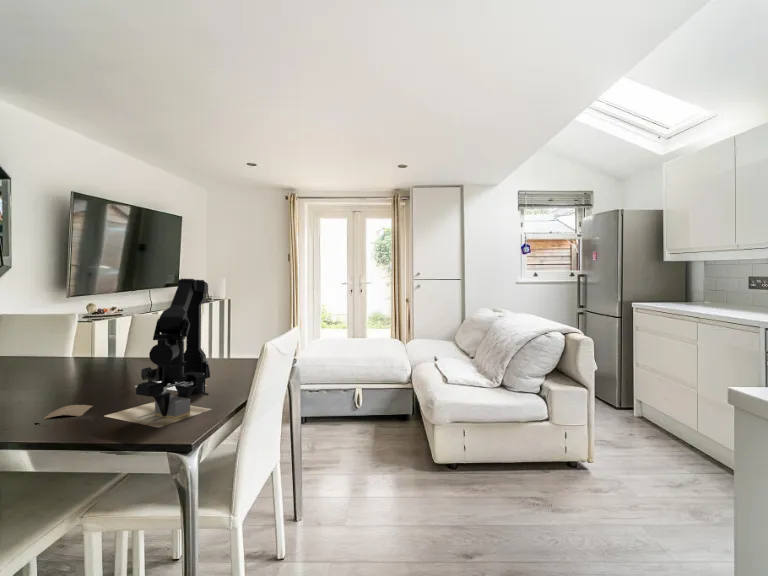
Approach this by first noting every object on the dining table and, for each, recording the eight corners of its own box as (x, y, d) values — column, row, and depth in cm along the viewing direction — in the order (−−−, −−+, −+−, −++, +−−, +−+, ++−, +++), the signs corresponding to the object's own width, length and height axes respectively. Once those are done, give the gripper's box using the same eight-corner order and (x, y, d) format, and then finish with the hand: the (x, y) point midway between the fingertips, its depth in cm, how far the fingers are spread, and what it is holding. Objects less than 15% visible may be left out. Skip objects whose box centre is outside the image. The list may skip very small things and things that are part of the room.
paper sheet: (210, 389, 158) (210, 386, 158) (121, 407, 136) (121, 404, 136) (184, 378, 174) (184, 375, 174) (101, 393, 153) (101, 390, 153)
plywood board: (159, 404, 136) (159, 400, 136) (211, 413, 127) (212, 409, 127) (103, 420, 120) (103, 415, 120) (158, 432, 111) (158, 427, 111)
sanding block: (170, 410, 125) (170, 395, 125) (190, 414, 122) (190, 398, 122) (154, 415, 121) (155, 399, 121) (175, 419, 118) (175, 402, 117)
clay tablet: (102, 411, 130) (102, 402, 130) (92, 421, 120) (92, 411, 120) (45, 416, 125) (44, 406, 125) (30, 427, 115) (30, 417, 115)
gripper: (179, 351, 133) (179, 401, 133) (122, 361, 116) (121, 419, 116) (206, 354, 129) (206, 406, 129) (150, 365, 111) (150, 424, 112)
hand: (172, 413), depth 121 cm, fingers closed on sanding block, 5 cm apart
